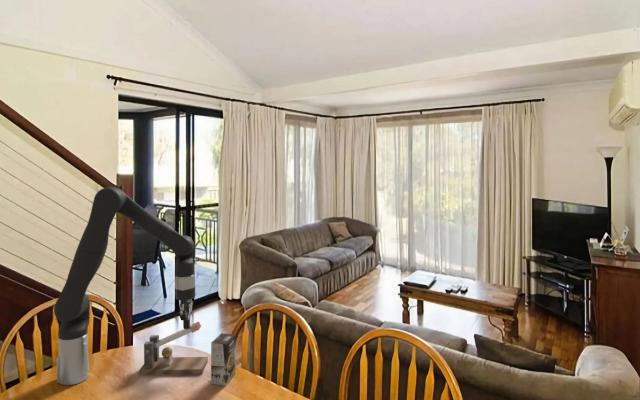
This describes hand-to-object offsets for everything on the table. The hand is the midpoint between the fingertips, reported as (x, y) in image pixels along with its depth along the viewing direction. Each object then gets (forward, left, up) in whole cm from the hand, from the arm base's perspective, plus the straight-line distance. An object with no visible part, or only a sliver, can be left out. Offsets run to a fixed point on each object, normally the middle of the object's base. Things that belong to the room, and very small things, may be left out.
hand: (186, 328), depth 152 cm
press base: (-5, 0, -17) cm, 17 cm away
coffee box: (+16, -9, -17) cm, 25 cm away
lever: (-4, 0, -4) cm, 6 cm away
